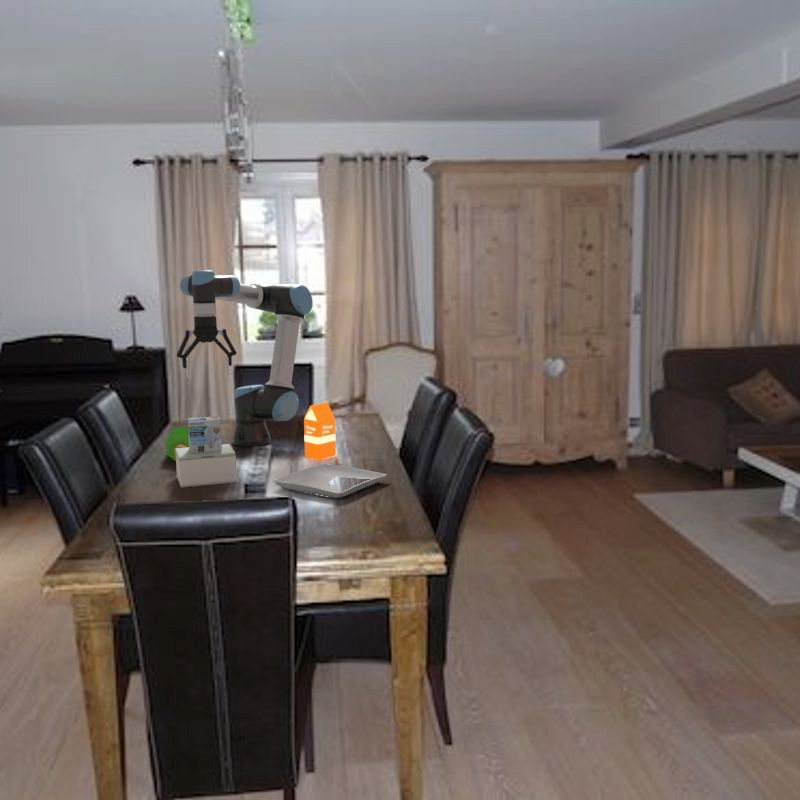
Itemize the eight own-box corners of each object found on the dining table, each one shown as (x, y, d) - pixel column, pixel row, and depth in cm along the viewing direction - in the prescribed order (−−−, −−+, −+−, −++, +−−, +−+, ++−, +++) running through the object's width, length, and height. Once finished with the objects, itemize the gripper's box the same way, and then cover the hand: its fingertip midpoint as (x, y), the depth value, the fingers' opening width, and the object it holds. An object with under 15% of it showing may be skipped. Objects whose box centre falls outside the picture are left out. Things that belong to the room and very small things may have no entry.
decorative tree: (171, 433, 288) (172, 414, 316) (160, 462, 289) (161, 441, 317) (202, 443, 291) (200, 423, 320) (191, 472, 292) (190, 450, 321)
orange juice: (336, 456, 304) (335, 403, 301) (318, 460, 298) (317, 406, 294) (322, 452, 309) (321, 401, 306) (304, 456, 303) (303, 404, 300)
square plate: (339, 504, 246) (339, 492, 245) (271, 491, 260) (270, 479, 260) (388, 483, 268) (388, 472, 268) (322, 472, 283) (322, 461, 282)
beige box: (230, 471, 282) (229, 446, 281) (236, 482, 270) (235, 455, 268) (176, 476, 276) (175, 451, 275) (180, 487, 263) (179, 460, 262)
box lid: (229, 446, 281) (228, 443, 281) (235, 455, 268) (235, 453, 268) (175, 450, 275) (175, 448, 275) (179, 460, 262) (179, 457, 262)
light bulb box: (190, 453, 267) (188, 421, 265) (188, 449, 273) (186, 417, 271) (223, 451, 270) (221, 419, 268) (220, 446, 277) (219, 415, 275)
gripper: (239, 313, 287) (241, 372, 291) (166, 315, 279) (170, 376, 283) (243, 315, 280) (245, 375, 284) (168, 317, 272) (172, 379, 276)
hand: (207, 376), depth 283 cm, fingers open, 13 cm apart
